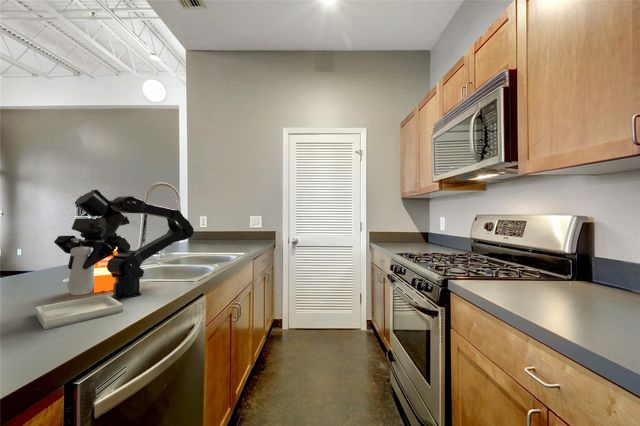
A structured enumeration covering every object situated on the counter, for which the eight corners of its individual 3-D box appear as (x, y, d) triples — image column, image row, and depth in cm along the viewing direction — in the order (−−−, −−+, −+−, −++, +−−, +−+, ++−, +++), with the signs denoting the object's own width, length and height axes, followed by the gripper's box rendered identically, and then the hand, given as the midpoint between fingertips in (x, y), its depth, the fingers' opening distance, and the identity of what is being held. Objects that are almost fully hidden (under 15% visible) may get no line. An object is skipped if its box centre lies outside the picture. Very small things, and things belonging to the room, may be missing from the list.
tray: (106, 300, 88) (106, 294, 88) (123, 311, 78) (123, 304, 78) (35, 314, 76) (35, 306, 76) (44, 329, 66) (44, 321, 66)
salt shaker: (66, 297, 73) (65, 248, 73) (68, 292, 78) (67, 246, 78) (94, 293, 77) (93, 246, 77) (95, 288, 81) (94, 245, 81)
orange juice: (93, 292, 97) (94, 236, 97) (100, 286, 105) (100, 234, 105) (120, 290, 101) (121, 235, 101) (124, 284, 109) (125, 233, 109)
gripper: (59, 208, 81) (20, 251, 70) (124, 208, 81) (94, 251, 70) (82, 232, 89) (49, 274, 78) (140, 232, 89) (116, 274, 78)
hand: (76, 268), depth 76 cm, fingers closed on salt shaker, 3 cm apart
